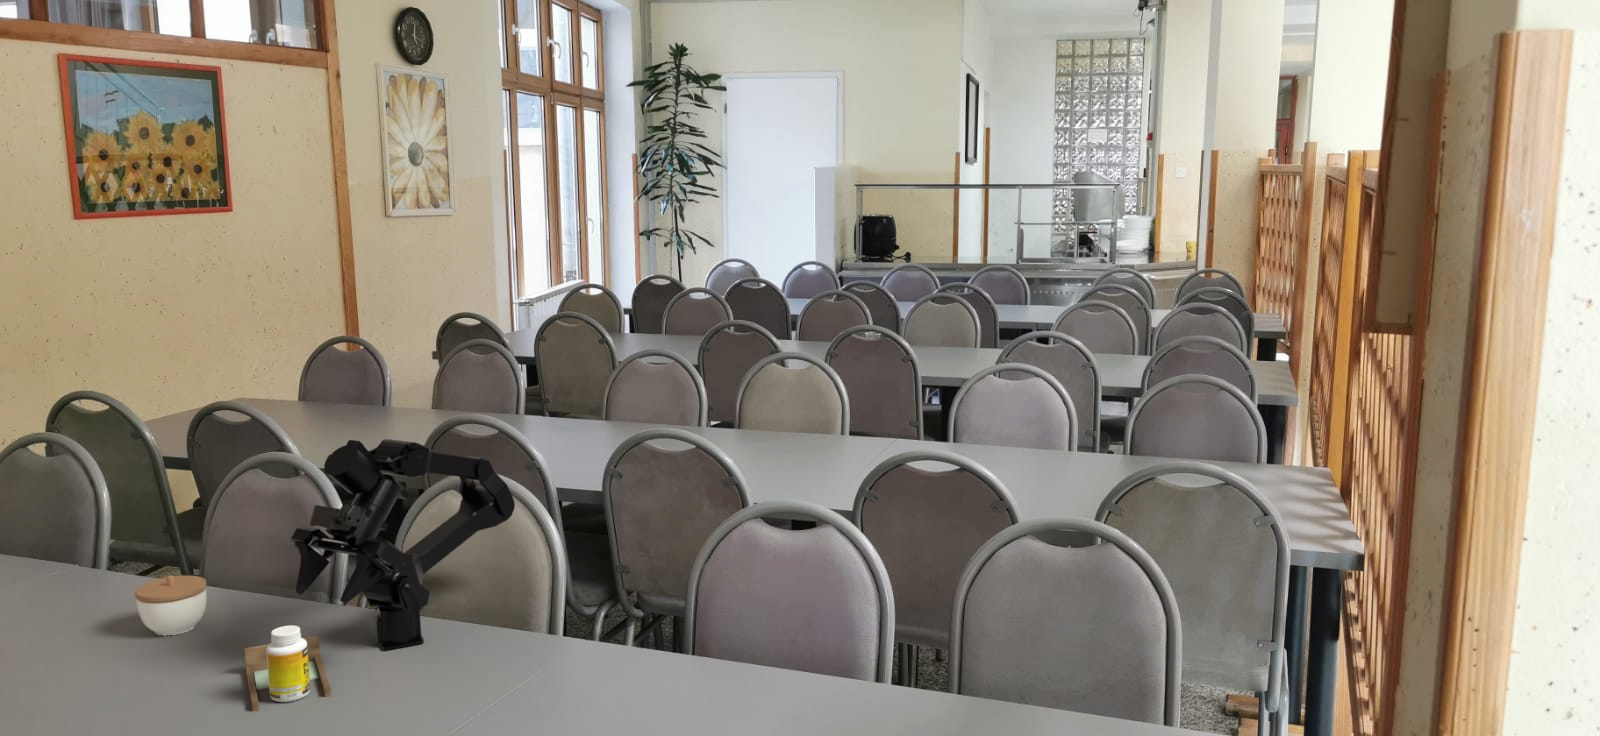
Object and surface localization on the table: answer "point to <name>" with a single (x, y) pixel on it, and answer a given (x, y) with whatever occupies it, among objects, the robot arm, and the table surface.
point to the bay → (258, 666)
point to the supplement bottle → (288, 665)
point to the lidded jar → (172, 604)
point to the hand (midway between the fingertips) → (320, 597)
